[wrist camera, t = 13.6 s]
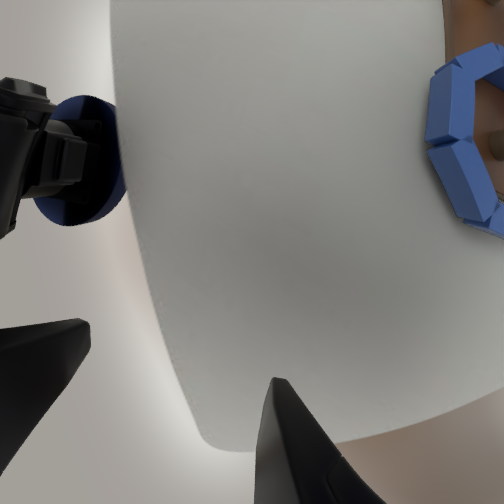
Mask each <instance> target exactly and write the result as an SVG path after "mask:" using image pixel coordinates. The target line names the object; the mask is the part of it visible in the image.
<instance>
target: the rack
mask: <svg viewBox="0 0 504 504" xmlns="http://www.w3.org/2000/svg"><path fill="white" fill-rule="evenodd" d="M442 2H443V13H444V26H445V49H446V63H447V62H449V61H450V60H451V59H453V58H454V57H456V56H458V55H461V54H463V53H465V52H468V51H470V50H472V49H475V48H477V47H480V46H482V45H485V44H487V43H490V42H493V44H494V45H497V44H500V45H501V46H503V47H504V0H442ZM473 141H474V143H475V145H476V147H477V149H478V151H479V153H480V156H481V158H482V160H483V162H484V165H485V167H486V169H487V172H488V174H489V177H490V179H491V182H492V184H493V187H494V190H495V192H496V195H497V197H498V198H500V199H502V200H504V91H502V90H501V89H499V88H498V87H496V86H495V85H493V84H492V83H490V82H489V81H487V80H485V79H484V78H480V79H478V80H477V81H475V114H474V130H473Z"/></svg>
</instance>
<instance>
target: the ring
mask: <svg viewBox="0 0 504 504" xmlns="http://www.w3.org/2000/svg"><path fill="white" fill-rule="evenodd" d="M434 73H435V76H433V77H432V78H431V79H430V95H429V107H428V117H427V126H426V134H425V142H427V143H430V144H432V145H434V147H432V148H431V149H429V150H428V151H427V154H428V156H429V158H430V159H431V161H432V163H433V165H434V167H435V169H436V171H437V173H438V175H439V177H440V179H441V182H442V184H443V186H444V188H445V190H446V192H447V194H448V197H449V199H450V201H451V204H452V206H453V208H454V211H455V213H456V215H457V217H462V218H464V219H463V223H464V224H467V225H470V226H472V227H475V228H477V229H480V230H482V231H485V232H487V233H490V234H492V235H495V236H497V237H499V238H502V239H504V204H502V203H500V202H499V201H498V198H497V195H496V192H495V190H494V187H493V184H492V182H491V179H490V177H489V174H488V172H487V169H486V167H485V165H484V162H483V160H482V158H481V156H480V153H479V151H478V149H477V147H476V145H475V143H474V141H473V130H474V114H475V81H477V80H478V79H480V78H484V79H485V80H487V81H489V82H490V83H492V84H493V85H495V86H496V87H498V88H499V89H501V90H502V91H504V47H503V46H501V45H500V44H497V45H494V44H493V42H490V43H487V44H485V45H482V46H480V47H477V48H475V49H472V50H470V51H468V52H465V53H463V54H461V55H458V56H456V57H454V58H453V59H451V60H450V61H449V62H447V63H446V64H445V65H443V66H442V67H440V68H439V69H438V70H436V71H435V72H434Z"/></svg>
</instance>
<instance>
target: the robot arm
mask: <svg viewBox="0 0 504 504" xmlns="http://www.w3.org/2000/svg"><path fill="white" fill-rule="evenodd" d="M56 107H57V106H56V105H54V104H52V103H50V100H49V99H47V96H46V88H45V87H43V86H40V85H37V84H34V83H31V82H28V81H24V80H20V79H14V78H9V77H5V78H3V79H2V80H0V239H2V238H3V237H5V235H6V234H8V233H9V232H11V231H12V230H14V229H15V225H16V215H17V211H18V207H19V203H20V200H21V199H25V198H35V197H49V198H54V199H59V200H64V201H69V202H74V203H79V204H89V203H91V201H92V197H93V189H94V182H95V178H96V173H97V167H98V161H99V155H100V150H101V143H102V138H103V133H104V128H105V124H104V122H103V121H100V120H52V119H50V116H51V114H53V113H54V111H55V109H56ZM98 125H100V126H99V128H98V129H97V126H98ZM85 196H87V200H85ZM90 347H91V338H90V325H89V323H88V322H87V321H84V320H82V319H79V318H76V319H69V320H62V321H55V322H48V323H41V324H34V325H27V326H19V327H12V328H4V329H0V476H1V475H2V473H3V471H4V470H5V468H6V467H7V465H8V464H9V462H10V461H11V460H12V458H13V457H14V455H15V454H16V452H17V451H18V450H19V448H20V447H21V446H22V444H23V443H24V441H25V440H26V439H27V437H28V436H29V435H30V433H31V432H32V430H33V429H34V428H35V426H36V425H37V424H38V422H39V421H40V420H41V418H42V417H43V416H44V414H45V413H46V412H47V411H48V409H49V408H50V406H51V405H52V404H53V403H54V402H55V400H56V399H57V398H58V396H59V395H60V394H61V393H62V391H63V390H64V389H65V388H66V386H67V385H68V383H69V382H70V380H71V379H72V377H73V376H74V374H75V372H76V371H77V369H78V367H79V366H80V365H81V363H82V362H83V360H84V358H85V357H86V355H87V354H88V352H89V350H90ZM341 456H342V454H341V453H340V452H339V450H338V449H337V448H336V446H335V445H334V444H333V442H332V441H331V440H330V438H329V437H328V436H327V434H326V433H325V432H324V430H323V429H322V428H321V426H320V425H319V423H318V422H317V421H316V419H315V418H314V417H313V415H312V414H311V413H310V411H309V410H308V408H307V407H306V406H305V404H304V403H303V402H302V400H301V399H300V397H299V396H298V395H297V393H296V392H295V390H294V389H293V388H292V386H291V385H290V383H289V382H288V381H287V380H286V379H282V378H276V377H273V378H272V379H271V382H270V385H269V388H268V391H267V395H266V398H265V401H264V406H263V412H262V417H261V423H260V429H259V434H258V440H257V446H256V465H255V492H254V504H386V503H385V502H384V501H383V500H382V499H381V498H380V497H379V496H378V495H377V494H376V493H375V492H374V491H373V490H372V489H371V488H370V487H369V486H368V485H367V484H366V483H365V482H364V481H363V480H362V479H361V478H360V476H359V475H358V474H357V473H356V472H355V471H354V469H353V468H352V467H351V466H350V464H349V463H348V462H347V461H346V459H345V458H344V457H343V456H342V457H341Z"/></svg>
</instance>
